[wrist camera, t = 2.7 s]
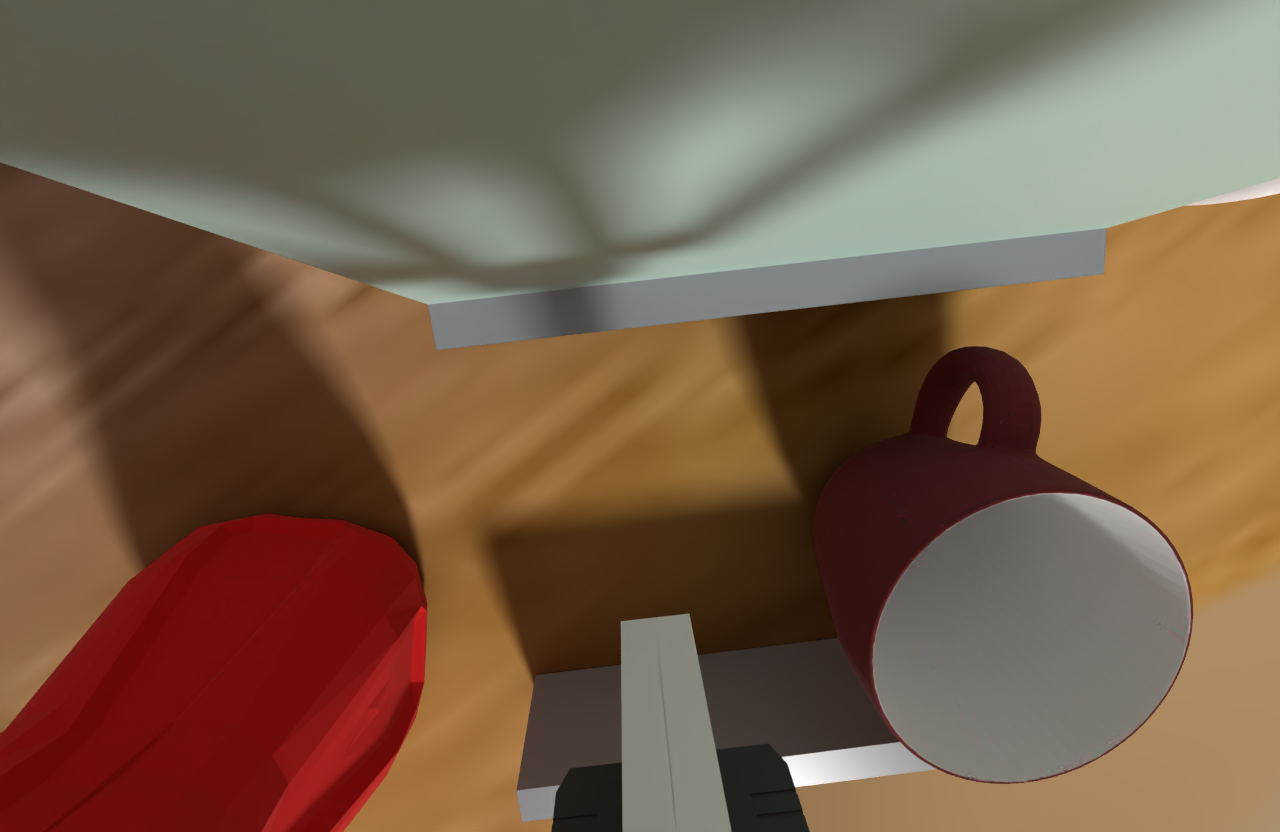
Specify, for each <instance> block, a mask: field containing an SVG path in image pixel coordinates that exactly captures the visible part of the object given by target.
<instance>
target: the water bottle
mask: <svg viewBox="0 0 1280 832" xmlns="http://www.w3.org/2000/svg"><path fill="white" fill-rule="evenodd" d="M426 631H427V601H426V597H425V593H424V590H423V586H422V582H421V579H420V575H419V571H418V568H417V564H416V563H415V562H414V561H413V559H412V558H411V557H410V556H409V555H408V554H407V553H406V552H405V551H404V549H403V548H402V547H401V546H400V545H399V544H398V543H397V542H396V541H395V540H394V538H393V537H390V536H388V535H385V534H382V533H379V532H376V531H373V530H370V529H368V528H365V527H362V526H359V525H356V524H353V523H350V522H348V521H345V520H340V519H316V518H298V517H291V516H283V515H276V514H268V513H267V514H262V515H257V516H251V517H246V518H241V519H236V520H231V521H225V522H220V523H215V524H210V525H206V526H201V527H198V528H197V529H196V530H194V531H193V532H192V533H190V534H189V535H188V536H186V537H185V538H184V539H183V540H181V541H180V542H179V543H177V544H176V545H175V546H173V547H172V548H171V549H169V550H168V551H167V552H166V553H164V554H163V555H162V556H160V557H159V558H158V559H157V560H155V561H154V562H153V563H151V564H150V565H149V566H148V567H146V568H145V569H144V570H142V571H141V572H140V573H139V574H137V575H136V576H135V577H133V578H132V579H131V580H130V581H128V582H127V584H126V585H125V586H124V587H123V588H122V590H121V591H120V592H119V593H118V594H117V596H116V597H115V598H114V599H113V601H112V602H111V603H110V604H109V605H108V607H107V608H106V609H105V610H104V611H103V613H102V614H101V615H100V616H99V617H98V619H97V620H96V621H95V622H94V623H93V625H92V626H91V627H90V628H89V629H88V631H87V632H86V633H85V634H84V636H83V637H82V638H81V639H80V640H79V642H78V643H77V644H76V645H75V646H74V648H73V649H72V650H71V651H70V652H69V654H68V655H67V656H66V657H65V658H64V660H63V661H62V662H61V663H60V664H59V666H58V667H57V668H56V669H55V671H54V672H53V673H52V674H51V675H50V677H49V678H48V679H47V680H46V681H45V683H44V684H43V685H42V686H41V687H40V689H39V690H38V691H37V692H36V693H35V695H34V696H33V697H32V698H31V699H30V701H29V702H28V703H27V704H26V706H25V707H24V708H23V709H22V710H21V712H20V713H19V714H18V715H17V716H16V718H15V719H14V720H13V721H12V722H11V724H10V725H9V726H8V727H7V728H6V730H5V731H3V732H2V733H0V832H343V831H344V830H345V829H346V827H347V826H348V825H349V823H350V822H351V821H352V820H353V818H354V817H355V816H356V814H357V813H358V812H359V811H360V809H361V808H362V807H363V805H364V804H365V803H366V801H367V800H368V799H369V798H370V796H371V795H372V794H373V792H374V791H375V790H376V788H377V787H378V786H379V785H380V783H381V782H382V781H383V779H384V778H385V777H386V775H387V773H388V771H389V769H390V767H391V765H392V763H393V762H394V760H395V758H396V756H397V754H398V752H399V750H400V748H401V746H402V744H403V742H404V740H405V738H406V736H407V734H408V732H409V730H410V728H411V726H412V724H413V722H414V720H415V718H416V715H417V710H418V706H419V702H420V698H421V694H422V689H423V685H424V677H425V657H426Z"/></svg>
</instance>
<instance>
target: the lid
mask: <svg viewBox="0 0 1280 832" xmlns="http://www.w3.org/2000/svg"><path fill="white" fill-rule="evenodd" d="M0 162H1V163H4V164H7V165H10V166H13V167H16V168H19V169H22V170H25V171H28V172H31V173H34V174H37V175H40V176H43V177H46V178H49V179H52V180H55V181H58V182H61V183H64V184H67V185H70V186H73V187H76V188H79V189H82V190H85V191H88V192H91V193H94V194H97V195H100V196H103V197H106V198H109V199H112V200H115V201H118V202H121V203H124V204H127V205H130V206H133V207H136V208H139V209H142V210H145V211H148V212H151V213H154V214H157V215H160V216H163V217H166V218H169V219H172V220H175V221H178V222H181V223H184V224H187V225H190V226H193V227H196V228H199V229H202V230H205V231H208V232H211V233H214V234H217V235H220V236H223V237H226V238H229V239H232V240H235V241H238V242H241V243H244V244H247V245H250V246H254V247H257V248H260V249H263V250H266V251H269V252H272V253H275V254H278V255H281V256H284V257H287V258H290V259H293V260H296V261H299V262H302V263H305V264H308V265H311V266H314V267H317V268H320V269H323V270H326V271H329V272H332V273H335V274H338V275H341V276H344V277H347V278H350V279H353V280H356V281H359V282H362V283H365V284H368V285H371V286H374V287H377V288H380V289H383V290H386V291H389V292H392V293H395V294H398V295H401V296H404V297H407V298H410V299H413V300H416V301H419V302H422V303H425V304H428V305H429V304H438V303H447V302H455V301H464V300H473V299H482V298H491V297H500V296H509V295H517V294H526V293H535V292H544V291H553V290H562V289H571V288H580V287H588V286H597V285H606V284H615V283H624V282H633V281H642V280H651V279H659V278H668V277H677V276H686V275H695V274H704V273H713V272H722V271H730V270H739V269H748V268H757V267H766V266H775V265H784V264H793V263H801V262H810V261H819V260H828V259H837V258H846V257H855V256H863V255H872V254H881V253H890V252H899V251H908V250H917V249H926V248H934V247H943V246H952V245H961V244H970V243H979V242H988V241H997V240H1005V239H1014V238H1023V237H1032V236H1041V235H1050V234H1059V233H1068V232H1076V231H1085V230H1094V229H1103V228H1109V227H1112V226H1116V225H1119V224H1122V223H1126V222H1129V221H1133V220H1136V219H1140V218H1143V217H1147V216H1150V215H1154V214H1157V213H1160V212H1164V211H1167V210H1171V209H1174V208H1178V207H1181V206H1185V205H1188V204H1192V203H1195V202H1198V201H1202V200H1205V199H1209V198H1212V197H1216V196H1219V195H1223V194H1226V193H1229V192H1233V191H1236V190H1240V189H1243V188H1247V187H1250V186H1254V185H1257V184H1261V183H1264V182H1267V181H1271V180H1274V179H1278V178H1280V0H0Z"/></svg>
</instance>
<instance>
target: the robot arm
mask: <svg viewBox="0 0 1280 832" xmlns="http://www.w3.org/2000/svg"><path fill="white" fill-rule="evenodd" d="M621 703H622V762H621V763H612V764H603V765H594V766H586V767H577V768H570V769H569V771H568V773H567V775H566V776H565V778H564V780H563V781H562V783H561V785H560V786H559V788H558V790H557V791H556V796H555V805H554V814H553V824H552V832H809V828H808V826H807V823H806V819H805V816H804V815H803V812H802V807H801V804H800V801H799V798H798V795H797V794H796V789H795V786H794V783H793V779H792V776H791V773H790V770H789V767H788V764H787V763H786V762H785V761H784V760H783V758H782V757H781V756H780V755H779V754H778V753H777V752H776V751H775V750H774V749H773V748H772V747H771V745H770V744H769V743H768V744H760V745H751V746H742V747H734V748H725V749H715V743H714V738H713V733H712V728H711V723H710V718H709V712H708V707H707V702H706V697H705V692H704V687H703V681H702V676H701V671H700V666H699V661H698V656H697V651H696V645H695V640H694V635H693V630H692V625H691V620H690V614H681V615H672V616H663V617H654V618H646V619H637V620H628V621H621Z"/></svg>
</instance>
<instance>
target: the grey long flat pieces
mask: <svg viewBox="0 0 1280 832" xmlns="http://www.w3.org/2000/svg"><path fill="white" fill-rule="evenodd" d="M1105 246H1106V228H1103V229H1094V230H1085V231H1076V232H1068V233H1059V234H1050V235H1041V236H1032V237H1023V238H1014V239H1005V240H997V241H988V242H979V243H970V244H961V245H952V246H943V247H934V248H926V249H917V250H908V251H899V252H890V253H881V254H872V255H863V256H855V257H846V258H837V259H828V260H819V261H810V262H801V263H793V264H784V265H775V266H766V267H757V268H748V269H739V270H730V271H722V272H713V273H704V274H695V275H686V276H677V277H668V278H659V279H651V280H642V281H633V282H624V283H615V284H606V285H597V286H588V287H580V288H571V289H562V290H553V291H544V292H535V293H526V294H517V295H509V296H500V297H491V298H482V299H473V300H464V301H455V302H447V303H438V304H429V305H428V306H429V312H430V317H431V323H432V328H433V334H434V339H435V345H436V350H442V349H451V348H459V347H468V346H477V345H486V344H495V343H503V342H512V341H521V340H530V339H538V338H547V337H556V336H565V335H573V334H582V333H591V332H600V331H609V330H617V329H626V328H635V327H644V326H652V325H661V324H670V323H679V322H687V321H696V320H705V319H714V318H723V317H731V316H740V315H749V314H758V313H766V312H775V311H784V310H793V309H801V308H810V307H819V306H828V305H837V304H845V303H854V302H863V301H872V300H880V299H889V298H898V297H907V296H915V295H924V294H933V293H942V292H951V291H959V290H968V289H977V288H986V287H994V286H1003V285H1012V284H1021V283H1029V282H1038V281H1047V280H1056V279H1065V278H1073V277H1082V276H1091V275H1100V274H1104V264H1105ZM697 656H698V661H699V666H700V671H701V676H702V681H703V687H704V692H705V697H706V702H707V707H708V712H709V718H710V723H711V728H712V733H713V738H714V743H715V749H725V748H734V747H742V746H751V745H760V744H768V743H769V744H770V745H771V747H772V748H773V749H774V750H775V751H776V752H777V753H778V754H779V755H780V756H781V757H782V758H783V760H784V761H785V762H786V763H787V764H788V767H789V770H790V773H791V776H792V779H793V783H794V786H795V787H801V786H809V785H816V784H824V783H832V782H840V781H847V780H856V779H864V778H871V777H878V776H887V775H894V774H903V773H910V772H918V771H926V770H934V769H936V768H934V767H932V766H930V765H929V764H927V763H925V762H924V761H922V760H921V759H919V758H918V757H916V756H915V755H914V754H912V753H911V752H910V751H909V750H908V749H907V748H906V747H904V746H903V744H902V743H901V742H900V741H899V740H898V739H897V738H896V737H895V736H894V734H893V733H892V732H891V731H890V729H889V728H888V726H887V725H886V724H885V722H884V721H883V719H882V718H881V716H880V714H879V713H878V711H877V710H876V708H875V707H874V705H873V703H872V702H871V700H870V699H869V697H868V695H867V694H866V692H865V690H864V689H863V687H862V685H861V684H860V682H859V680H858V679H857V677H856V675H855V673H854V671H853V670H852V668H851V666H850V664H849V662H848V660H847V658H846V656H845V654H844V651H843V649H842V646H841V644H840V641H839V639H838V638H832V639H824V640H816V641H808V642H800V643H792V644H784V645H775V646H767V647H759V648H751V649H743V650H735V651H727V652H719V653H711V654H703V655H697ZM621 762H622V703H621V665H614V666H605V667H597V668H589V669H581V670H573V671H565V672H557V673H549V674H541V675H536V676H535V682H534V688H533V694H532V700H531V706H530V713H529V719H528V725H527V731H526V737H525V743H524V749H523V755H522V761H521V767H520V773H519V779H518V785H517V796H518V801H519V807H520V812H521V818H522V822H527V821H534V820H542V819H550V818H553V814H554V805H555V796H556V791H557V790H558V788H559V786H560V785H561V783H562V781H563V780H564V778H565V776H566V775H567V773H568V771H569V769H570V768H577V767H586V766H594V765H603V764H612V763H621Z"/></svg>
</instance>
